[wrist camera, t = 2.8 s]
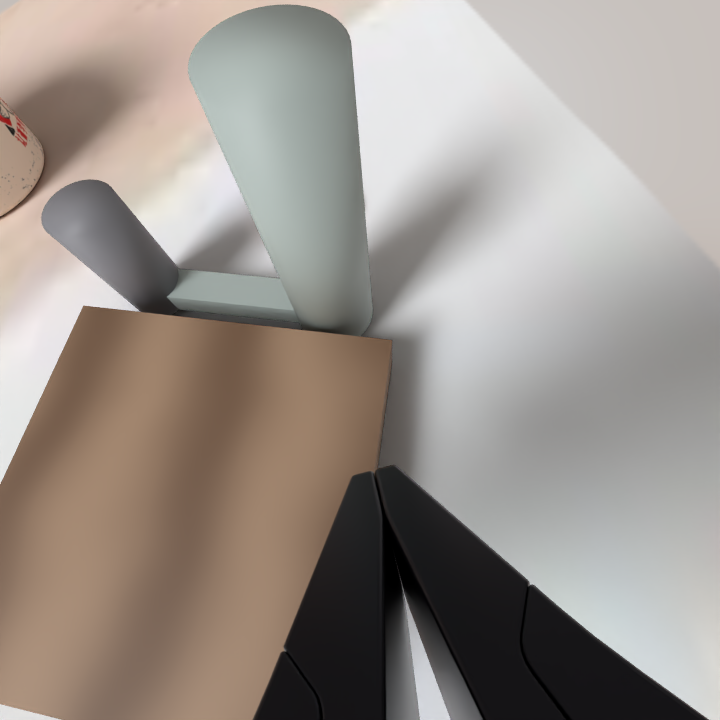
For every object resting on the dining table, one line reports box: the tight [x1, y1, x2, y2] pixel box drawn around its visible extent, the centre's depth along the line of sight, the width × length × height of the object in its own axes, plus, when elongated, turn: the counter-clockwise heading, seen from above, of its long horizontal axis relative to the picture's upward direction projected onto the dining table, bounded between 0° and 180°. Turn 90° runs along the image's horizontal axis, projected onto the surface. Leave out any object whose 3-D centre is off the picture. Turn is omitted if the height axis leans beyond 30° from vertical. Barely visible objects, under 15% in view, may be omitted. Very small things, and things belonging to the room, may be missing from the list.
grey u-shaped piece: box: [41, 5, 373, 336], centre depth 15 cm, size 12×4×12 cm, turn 81°
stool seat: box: [0, 306, 392, 720], centre depth 18 cm, size 14×25×2 cm, turn 171°
